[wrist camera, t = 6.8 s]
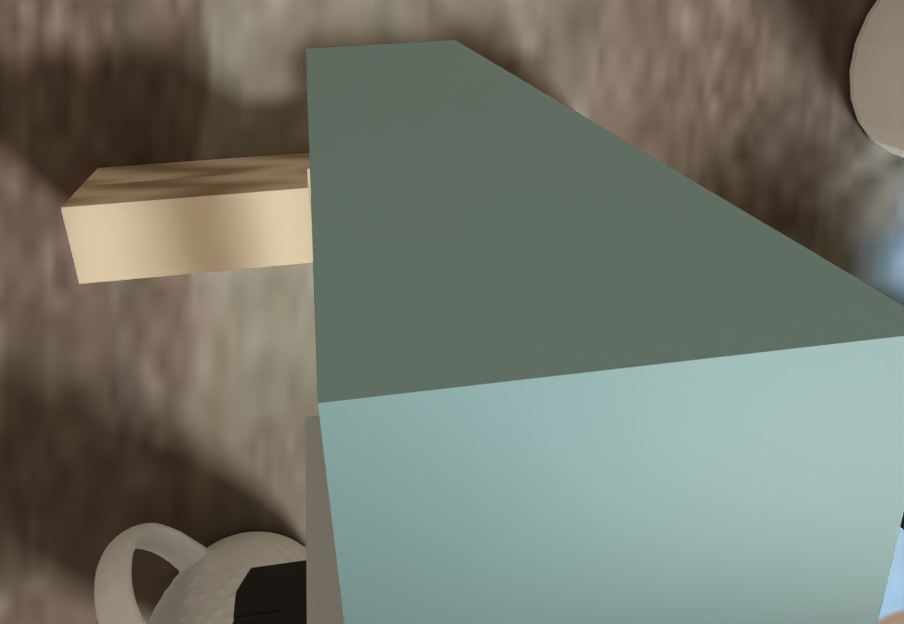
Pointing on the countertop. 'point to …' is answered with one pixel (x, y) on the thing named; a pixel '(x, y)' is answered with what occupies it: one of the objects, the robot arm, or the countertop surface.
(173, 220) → the notched wooden beam
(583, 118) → the pale teal block
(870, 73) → the mug
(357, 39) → the countertop surface
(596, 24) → the countertop surface
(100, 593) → the mug
